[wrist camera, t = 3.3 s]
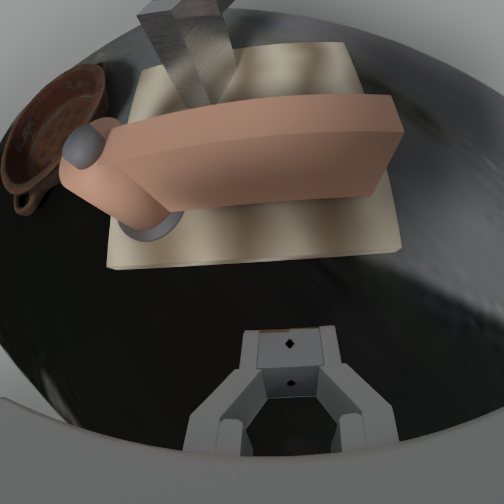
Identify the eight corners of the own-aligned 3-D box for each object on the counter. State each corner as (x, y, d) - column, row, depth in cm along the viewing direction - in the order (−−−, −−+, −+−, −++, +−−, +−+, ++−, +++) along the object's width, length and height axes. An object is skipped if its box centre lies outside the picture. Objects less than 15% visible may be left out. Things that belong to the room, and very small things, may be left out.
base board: (342, 51, 26) (344, 39, 24) (395, 252, 21) (403, 246, 19) (147, 78, 29) (140, 68, 27) (116, 269, 24) (104, 265, 22)
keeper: (235, 113, 24) (200, 7, 13) (185, 107, 25) (136, 15, 14) (258, 71, 25) (237, -27, 14) (211, 66, 26) (178, -21, 15)
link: (118, 233, 22) (39, 189, 13) (125, 178, 23) (59, 120, 14) (374, 212, 19) (419, 139, 10) (361, 152, 20) (388, 64, 12)
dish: (3, 210, 29) (-21, 198, 24) (69, 81, 33) (53, 63, 28) (74, 234, 26) (41, 219, 21) (155, 68, 30) (139, 41, 25)
